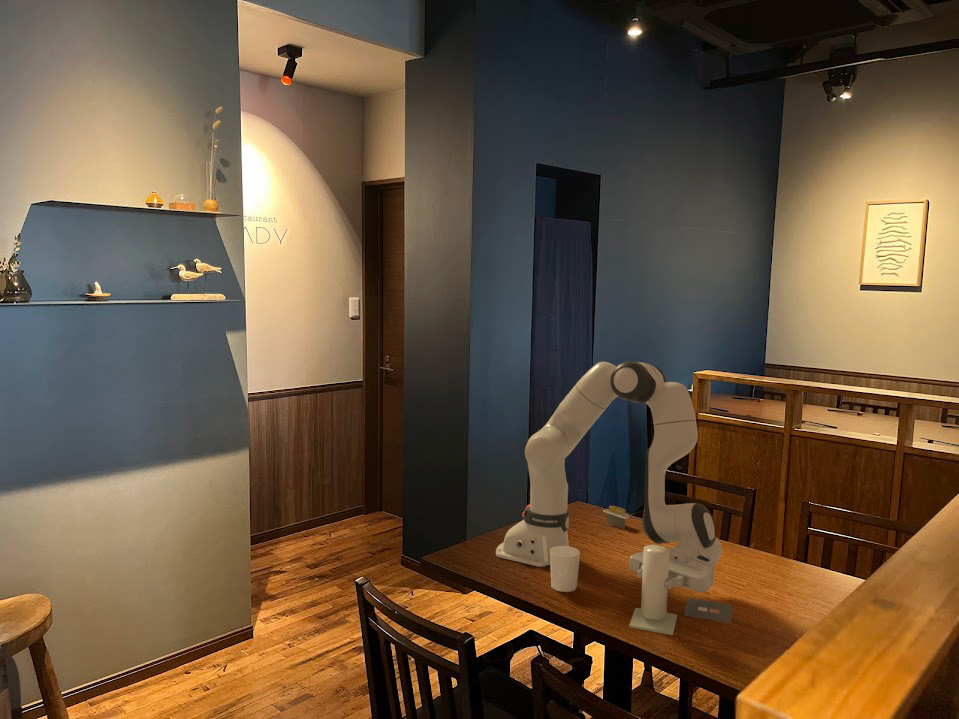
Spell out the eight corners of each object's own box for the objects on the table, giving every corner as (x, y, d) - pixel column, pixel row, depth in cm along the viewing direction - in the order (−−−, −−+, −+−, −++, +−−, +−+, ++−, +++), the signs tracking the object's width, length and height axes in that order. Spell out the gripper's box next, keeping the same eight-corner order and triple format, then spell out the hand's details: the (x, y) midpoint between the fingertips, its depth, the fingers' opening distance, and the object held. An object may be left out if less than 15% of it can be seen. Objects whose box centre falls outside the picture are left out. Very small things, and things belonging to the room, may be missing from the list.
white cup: (561, 578, 198) (562, 543, 197) (584, 587, 192) (585, 551, 191) (543, 586, 193) (544, 550, 192) (566, 596, 187) (567, 558, 186)
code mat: (683, 616, 176) (683, 615, 176) (687, 598, 187) (687, 597, 187) (731, 624, 173) (731, 623, 173) (732, 605, 183) (732, 604, 183)
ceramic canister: (639, 617, 171) (641, 551, 169) (642, 606, 176) (645, 543, 175) (665, 621, 169) (668, 555, 167) (667, 610, 174) (670, 547, 173)
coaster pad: (629, 628, 170) (629, 624, 170) (635, 610, 179) (635, 607, 179) (672, 635, 166) (673, 632, 166) (676, 617, 176) (677, 614, 175)
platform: (608, 517, 254) (609, 498, 254) (649, 530, 240) (650, 511, 240) (585, 523, 247) (586, 504, 246) (626, 538, 233) (627, 518, 232)
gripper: (645, 541, 188) (616, 555, 178) (720, 563, 174) (693, 579, 164) (644, 564, 188) (615, 579, 178) (719, 588, 174) (692, 605, 164)
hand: (653, 579), depth 171 cm, fingers closed on ceramic canister, 6 cm apart
